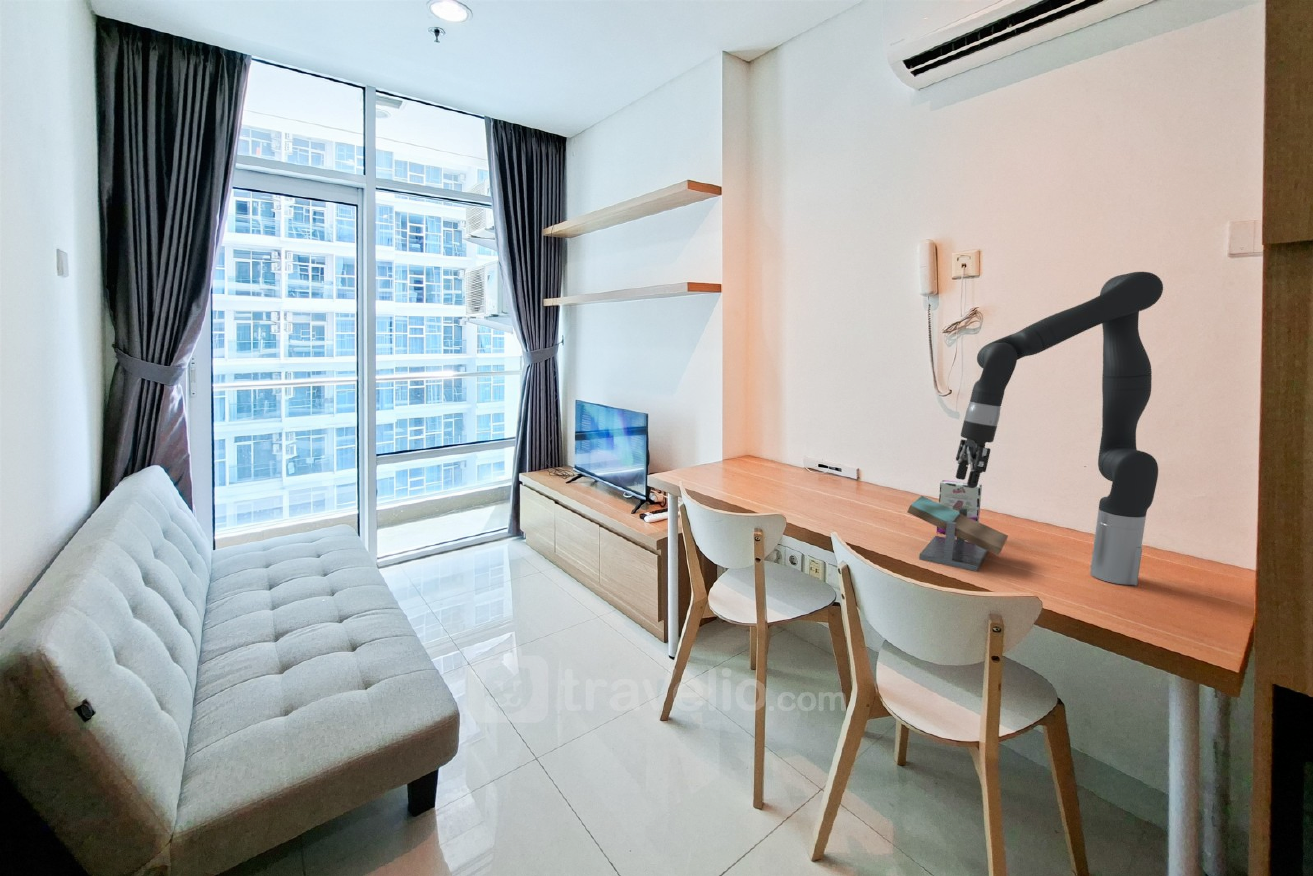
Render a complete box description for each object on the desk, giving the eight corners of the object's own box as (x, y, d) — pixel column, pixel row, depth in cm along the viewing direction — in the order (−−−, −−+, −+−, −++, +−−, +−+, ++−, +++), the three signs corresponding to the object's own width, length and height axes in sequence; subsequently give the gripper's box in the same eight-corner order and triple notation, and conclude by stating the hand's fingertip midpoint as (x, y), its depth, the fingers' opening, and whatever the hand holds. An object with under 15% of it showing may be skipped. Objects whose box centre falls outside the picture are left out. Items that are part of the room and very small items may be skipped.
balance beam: (1005, 541, 158) (1009, 534, 157) (998, 556, 146) (1002, 549, 145) (919, 501, 170) (922, 495, 169) (906, 512, 158) (909, 505, 158)
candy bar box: (977, 535, 176) (983, 484, 174) (976, 539, 172) (981, 487, 170) (938, 528, 183) (942, 479, 180) (935, 532, 178) (940, 482, 176)
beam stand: (988, 550, 163) (992, 511, 161) (976, 571, 147) (981, 528, 145) (935, 540, 171) (938, 503, 169) (919, 559, 155) (922, 518, 154)
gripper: (1008, 427, 137) (992, 491, 140) (985, 420, 151) (970, 479, 153) (975, 422, 138) (959, 486, 141) (955, 416, 152) (941, 474, 155)
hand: (965, 482), depth 147 cm, fingers open, 8 cm apart
